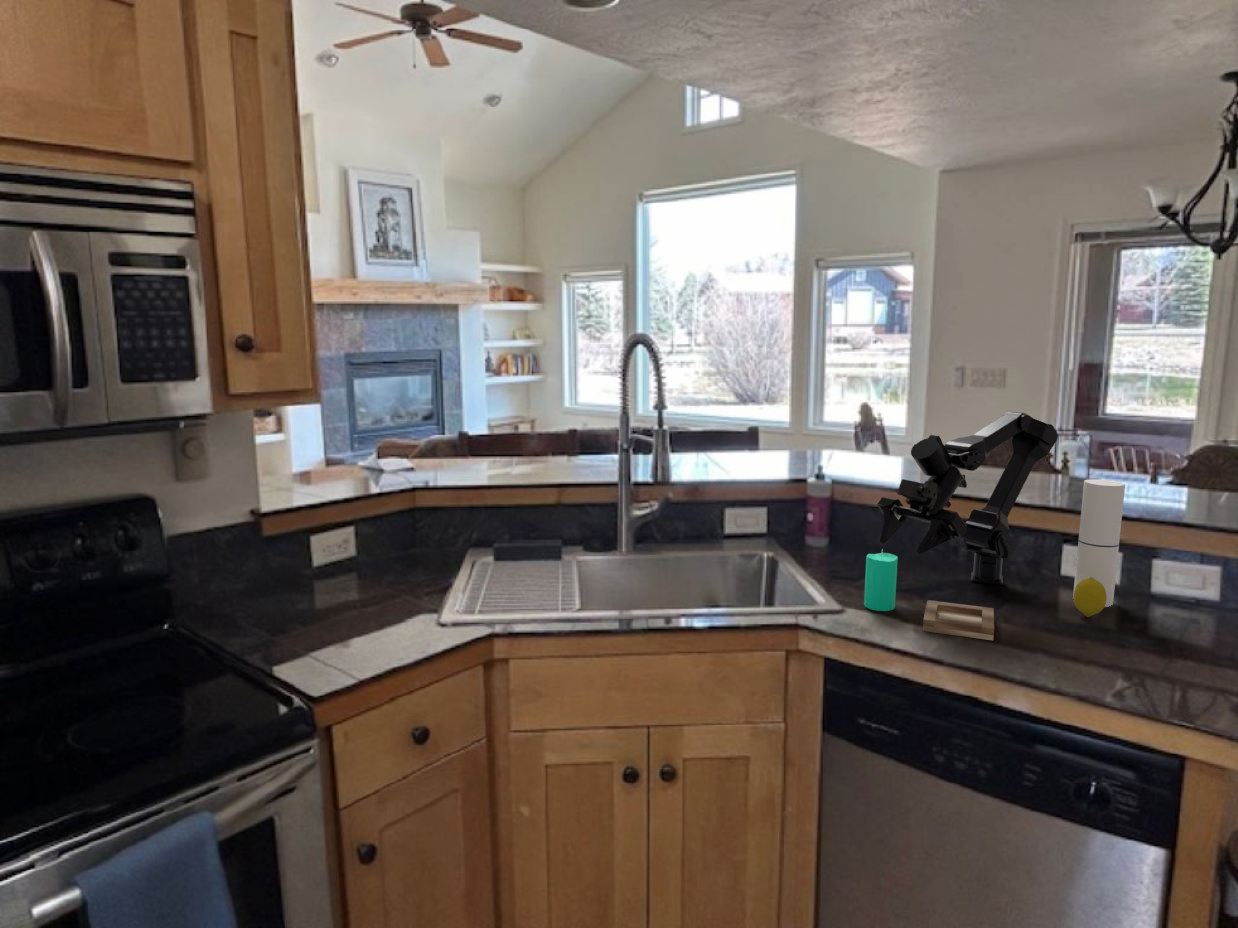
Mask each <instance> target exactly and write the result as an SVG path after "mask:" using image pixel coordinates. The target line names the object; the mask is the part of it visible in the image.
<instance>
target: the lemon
mask: <svg viewBox="0 0 1238 928" xmlns="http://www.w3.org/2000/svg"><path fill="white" fill-rule="evenodd" d="M1073 594H1074V596H1072V599H1073V598H1074V600H1073V603H1074V606H1075V608H1076V609H1077V610H1078V611H1079V612H1081V613H1082V614H1083V615H1084V616H1085V617H1087V618H1090V617H1092V616H1093V615H1098V614H1099V613H1101V612H1102V611H1103V610H1104V608H1106V607H1105V604H1106V591H1105V588H1104V586H1103V585H1102V584H1101V583H1100V582H1099V581H1097V580H1095V579H1094V578H1092V577H1090V578H1089V579H1085V580H1082V581H1080V582H1079V583H1078V584H1077V586H1076V588H1075V591H1074V590H1073Z"/></svg>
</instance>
